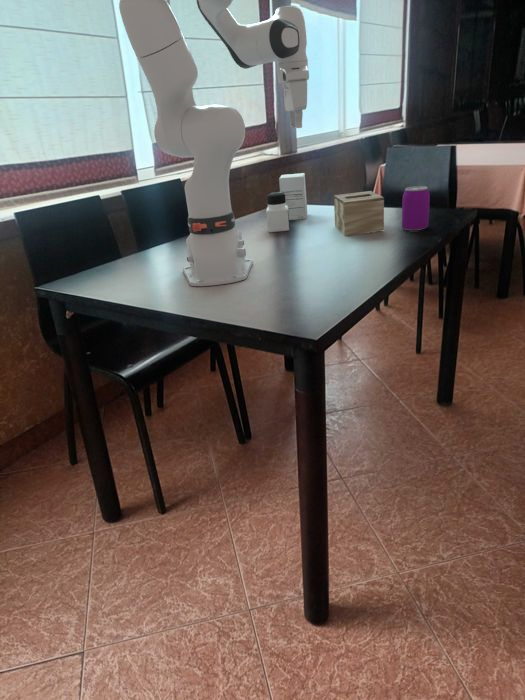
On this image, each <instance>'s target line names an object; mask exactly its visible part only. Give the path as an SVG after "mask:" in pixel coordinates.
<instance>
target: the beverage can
mask: <svg viewBox="0 0 525 700" xmlns="http://www.w3.org/2000/svg"><path fill="white" fill-rule="evenodd" d="M430 196H431V194H430V191H429V188H428V186H424V185H418V186H417V185H415V186H408V187H405V190H404V192H403V195H402V201H401V202H402V204H401V205H402V206H401V207H402V209H401V210H402V211H401V214H402V215H401V228H402V229H403V230H404V229H406V230H421V229H425V228H426V229H427V228H428V227H429V224H430V223H429V221H430V220H429V219H430V216H429V215H430V201H431V198H430ZM426 229H425V230H426ZM406 230H405V231H406Z"/></svg>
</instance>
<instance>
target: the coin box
mask: <svg viewBox="0 0 525 700" xmlns="http://www.w3.org/2000/svg"><path fill="white" fill-rule="evenodd" d="M333 203H334V204H333V205H334V206H333V207H334V210H333V211H334V227H335V228H336V229H337V230H338V231H339V232H340V233H341V234H343V236H345V237H346V236H353V235H354V236H355V235H356V236H357V235H363V234H370V232H372V233H377V232H376V231H380V232H383V231H382V230H384V231H385V197H384V196H382V195H380V194H379V193H376V192H374V191H372V190H367V191H359V192H352V193H351V192H350V193H343V194H342V193H341V194H334V195H333Z"/></svg>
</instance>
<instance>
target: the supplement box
mask: <svg viewBox="0 0 525 700" xmlns="http://www.w3.org/2000/svg"><path fill="white" fill-rule="evenodd" d="M305 175H306V174H305V172H301V173H299V172H298V173H293V174H292V173H289V174H281V175H280V177H279V178H278V181H279V183H278V184H279V192H282V193H284V194H285V198H286V205H287V206H288V214H289V221H293V220H307V217H308V203H307V202H308V199H307V187H306V186H307V185H306V176H305Z"/></svg>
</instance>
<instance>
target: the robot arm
mask: <svg viewBox="0 0 525 700" xmlns="http://www.w3.org/2000/svg"><path fill="white" fill-rule="evenodd" d="M233 1H234V0H196V4H197V8H198V10H199V12H200V14H201V15H202V17H203V18H204V20H205V21H206V22H207V24H208V25H209V26H210V28H211V29H212V31H214V33H215V34H216V35H217V37H218V38H219V39H220V41H221V42H222V43H223V45H224V46H225V47H226V48H227V50H228V52H229V54H230V56H231V58H232V60H233V61H234V62H235V64H236V65H238V67H240V68H241V69H243V70H244V69H246V70H247V69H250V68H253V67H254V68H255V67H256V66H258V65H259V66H260V65H265V64H266V65H267V64H270V63H274V62H276V72H277V73H276V74H277V83H278V84H282V90H283V97H284V98H283V99H284V101H283V102H284V110H285V112H288V115H289V121H290V127H291V128H295V129H301V128H303V116H304V115H303V113H304V112H303V110H306V109H307V107H308V106H307V105H308V81H309V78H310V72H309V63H308V61H309V60H308V56H307V45H308V42H307V28H306V21H305V16H304V13H303V10H302V9H301V8H300V7H298V6H296V5H287V4H286V5H281V6H278V7H277V8H276V9H275V13H274V15H272V16H271V17H270V18H268V19H267V20H263V21H261V22H257V23H252V24H240V23H238V21H237V20H236V19H235V17H234V16H233V15H232V13H231V11H230V10H229V9H228V8H229V6H231V4H232V3H233ZM118 5H119V6H118V9H119V13H120V16H121V21H122V23H123V27H124V29H125V32H126V36H127V37H128V40H129V43H130V45H131V47H132V50H133V52H134V55H135V56H136V59H137V60H138V62H139V65H140V67H141V69H142V71H143V73H144V75H145V77H146V79H147V82H148V84H149V87H150V89H151V91H152V94H153V98H154V102H155V105H156V111H157V118H156V122H155V124H154V130H153V132H154V133H153V134H154V139H155V143H156V144H157V147H158V148H159V149H160V151H162V152H163V153H164V154H167V155H170V156H173V157H177V158H180V159H181V158H182V159H183V158H185V159H186V158H193V170H192V172H191V176H189V178H187V180H186V181H185V184H184V194H185V201H186V206H187V212H188V217H187V225H188V231H189V235H188V236H187V238H186V239H185V241H186V242H185V243H186V250H187V254H188V256H187V257H186V260H187V262H188V263H189V265H186V266H184V267H182V272H183V275H184V277H185V278H186V280H187V283H188V284H189V285H190V286H191V287H209V286H219V285H224V284H225V285H226V284H233V283H236V282H240V281H243V280H246V279H247V277H248V275H249V274H250V271H251V268H252V267H253V264H254V262H253V259H252V258H248V257H247V254H246V253H247V252H246V247H244V245H245V241H244V239H243V234H242V232H241V231H239V230H238V229H237V228H236V227H235V226H236V222H235V220H236V219H235V215H234V211H233V210H232V204H231V194H230V172H231V167H232V163H233V159H234V158H235V155H236V154H237V152H238V151H239V150H240V148H241V147H242V145H243V144H244V141H245V137H246V126H245V125H246V124H245V121H244V118H243V117H242V115H241V113H240V111H238V110H237V109H236V108H235V107H232V106H227V105H224V104H223V105H222V104H208V105H202V106H201V105H199V106H198V105H197V104H196V101H195V97H194V93H193V91H194V90H193V87H194V86H195V84H196V81H197V80H198V76H199V75H198V74H199V73H198V72H199V71H198V67H197V65H196V63H195V60H194V58H193V55H192V53H191V52H192V51H191V50H190V47H189V45H188V43H187V40H186V38H185V36H184V33H183V31H182V29H181V27H180V23H179V22H178V20H177V18H176V16H175V14H174V12H173V10H172V8H171V1H170V0H119V3H118Z"/></svg>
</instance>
